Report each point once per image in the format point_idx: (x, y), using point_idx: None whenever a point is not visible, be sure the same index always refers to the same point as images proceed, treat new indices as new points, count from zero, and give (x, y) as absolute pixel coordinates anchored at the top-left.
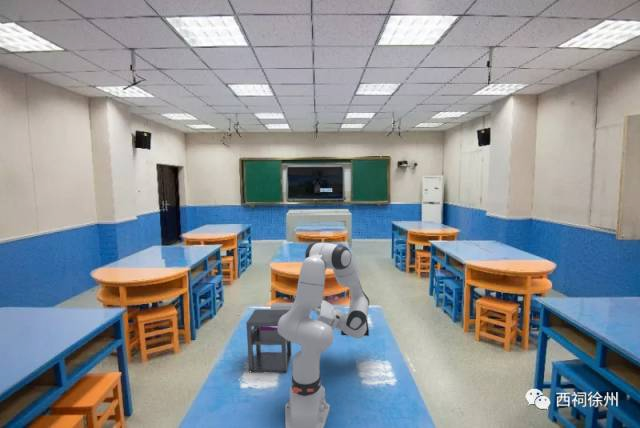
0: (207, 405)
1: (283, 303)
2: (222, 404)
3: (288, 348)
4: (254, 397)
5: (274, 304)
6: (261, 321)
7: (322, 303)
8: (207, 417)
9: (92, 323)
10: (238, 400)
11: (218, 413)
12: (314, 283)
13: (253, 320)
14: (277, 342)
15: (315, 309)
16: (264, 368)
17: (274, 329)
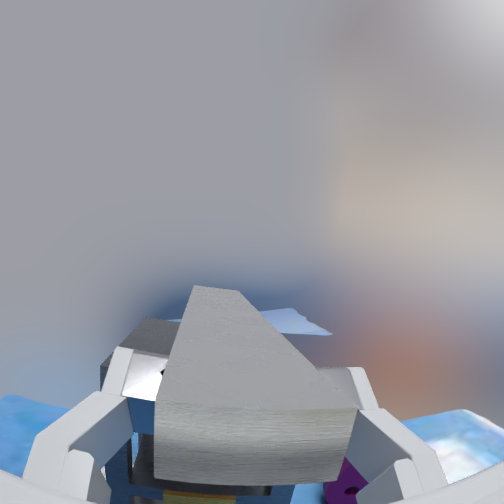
0: (36, 412)
1: (235, 297)
2: (26, 427)
3: None
4: (18, 471)
5: (216, 289)
6: (145, 331)
7: (472, 486)
8: (3, 408)
9: (286, 330)
10: (24, 447)
11: (3, 419)
12: None
13: (160, 324)
14: (137, 459)
15: (84, 412)
16: (140, 500)
17: (350, 468)
